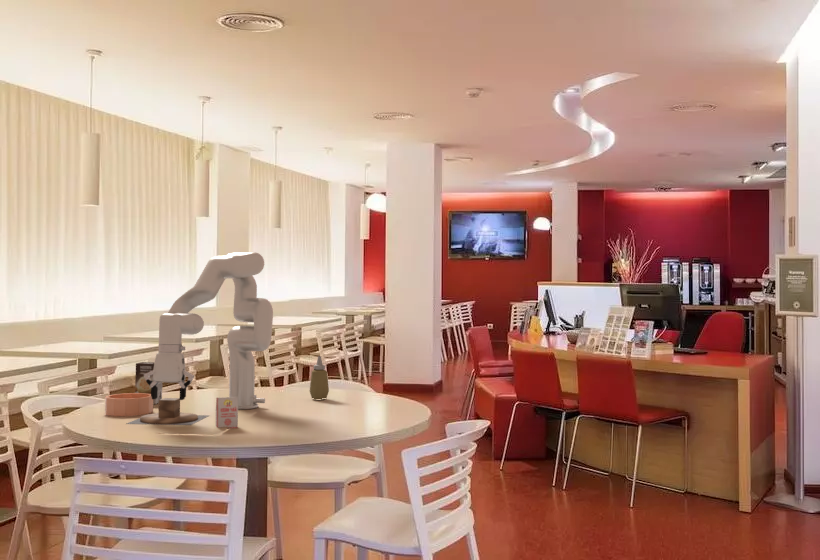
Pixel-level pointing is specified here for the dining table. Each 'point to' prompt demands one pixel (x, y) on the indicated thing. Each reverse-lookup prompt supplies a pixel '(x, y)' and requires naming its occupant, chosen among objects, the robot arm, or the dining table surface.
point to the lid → (169, 413)
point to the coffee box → (141, 383)
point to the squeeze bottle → (319, 381)
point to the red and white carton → (227, 412)
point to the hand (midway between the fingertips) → (168, 399)
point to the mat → (171, 424)
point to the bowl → (128, 404)
